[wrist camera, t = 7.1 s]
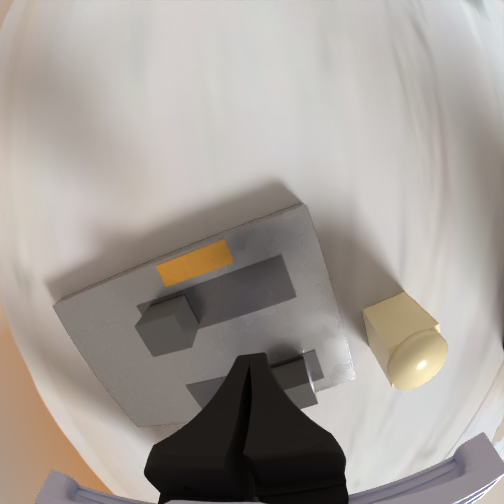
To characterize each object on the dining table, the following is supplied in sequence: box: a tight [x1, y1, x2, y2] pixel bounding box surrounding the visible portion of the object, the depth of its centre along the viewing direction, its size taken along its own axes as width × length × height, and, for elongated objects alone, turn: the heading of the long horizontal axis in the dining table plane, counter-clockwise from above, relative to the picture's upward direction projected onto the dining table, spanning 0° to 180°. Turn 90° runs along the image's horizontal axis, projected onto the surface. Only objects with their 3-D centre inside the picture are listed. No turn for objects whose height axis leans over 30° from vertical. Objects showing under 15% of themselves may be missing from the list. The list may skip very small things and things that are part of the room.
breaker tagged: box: [134, 295, 199, 357], centre depth 18 cm, size 2×3×3 cm
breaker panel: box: [53, 203, 356, 427], centre depth 21 cm, size 15×22×2 cm
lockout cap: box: [362, 291, 448, 390], centre depth 18 cm, size 5×5×6 cm
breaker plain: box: [271, 359, 318, 409], centre depth 19 cm, size 2×3×3 cm
